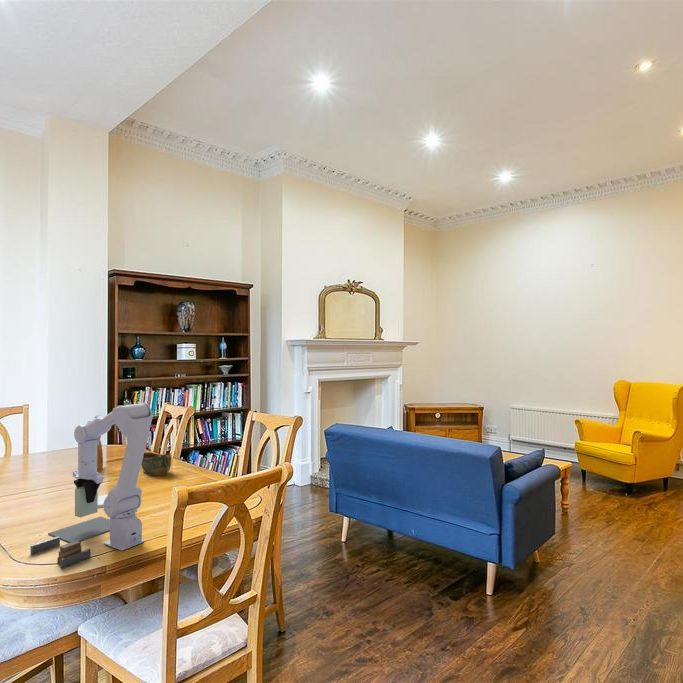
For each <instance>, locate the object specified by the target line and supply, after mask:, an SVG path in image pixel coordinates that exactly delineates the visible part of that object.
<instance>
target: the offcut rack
mask: <svg viewBox="0 0 683 683" xmlns="http://www.w3.org/2000/svg"><path fill="white" fill-rule="evenodd" d="M60 544H61V539H60V537H52V538H49V539H46V540H43V541H40V542H37V543H34V544H31V545H30V555H32V556H33V555H35V554H39V553H41V552H45V551H47V550H49V549H53V548H57V547H59V546H61V545H60ZM91 551H92V550H91V548H87V549H84V550H82V551H81V552H78V553H75V554H73V555H70V556H67V557H65V558H62V559H61V565H60V569H62V570H63V569H66V568H69V567H71V566H74V565H76V564H78V563H81V562H85V561H87V560H89V559H91Z"/></svg>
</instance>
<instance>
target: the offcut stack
mask: <svg viewBox="0 0 683 683" xmlns="http://www.w3.org/2000/svg"><path fill="white" fill-rule="evenodd" d="M81 542H82V541H80V542H79V541H74V542H71V543H68V542H67V543H65V544H63V545H59V546H60V547H59V551H58V557H57V562H56V563H57V565H60V566H61V559H62V558H65V557H67V556H70V555H73V554H75V553H78V552H81V551H83V550H82V549H83V548H82V544H81Z"/></svg>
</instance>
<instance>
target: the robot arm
mask: <svg viewBox="0 0 683 683" xmlns="http://www.w3.org/2000/svg"><path fill="white" fill-rule="evenodd" d="M153 418H154V414H153V411H152V409H151V406H150V405H149V404H148V403H147V402H141V403H135V404H126V405H117V406H116V407H113V408H112V411H111V412H109V413H107V415H105V416H104V415H101V414H99V415H96V416H94V419H92V420H88V421H87V423H86V424H83V425H80V424H79V425H77V426H76V427H75V428H74V433H73V436H74V439H75V441H76V442H77V443H78V444H77V469H76V470H73V471H72V478H74V480H73V484H74V485H75V487H76V488H79V487H83V486H84V489H85V492H86V500H87V503H91V502H94V500H95V496H96V493H97V490H98V491H99V487H100V486H101V484H102V483H104V476H103V475H101V473H99V471H98V472H97V446H98V445H99V440H101V437H102V436H103V435H105V434H107V433H108V432H109V431H110V430H111V429H112V426H114V425H116V427H117V429H118V430H119V431H120V433H121V434H122V436H123V437H126V438H128V439H127V443H126V448H125V452H124V454H123V460H122V464H121V466H120V467H121V468H120V472H119V477H118V478H117V479H118V480H117V484H116V485H114V486H113V487H112V488H111V489H110V490H108V493H107V494H108V496H107V497H106V498H105V500H104V504H103V507H102V508H103V512H104V514H105V515H106V516H107V517H109V519H110V531H109V540H106V541H104V542H103V545H105V546H109V547H111V548H113V549H116V550H118V551H125V550H127V549H129V548H132V547H134V546H137V545H140V544H142V543H144V542H145V539H143V538H142V537H143V532H142V531H143V523H142V520H141V519H140V518H139V517H137V515H136V513H138V509H139V508H140V507H141V505H142V492H143V491H142V489H141V487H140V486H139V485H137V482H138V479H139V474H140V471H141V468H142V465H141V464H142V460H143V456H144V453H146V448H147V445H148V440H149V432H150V429H151V426H152V421H153Z"/></svg>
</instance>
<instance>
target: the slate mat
mask: <svg viewBox="0 0 683 683" xmlns="http://www.w3.org/2000/svg"><path fill="white" fill-rule="evenodd" d="M108 532H110V518H106V517H103V516H97V517H94V518H91V519H88V520H86V521H82V522H78V523H74V524H73V525H70V526H69V525H68V526H66V527H63V528H59V529H57V530H53V531H51V532H47V533H48V534H47V535H49V536H52V538H55V537H60V541H64V542H66V543H67V544H68V543H71V542H74V541H79V542H82V541H85V540H88V539H91V538H94V537H97V536H99V535H102V534H105V533H108Z"/></svg>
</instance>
